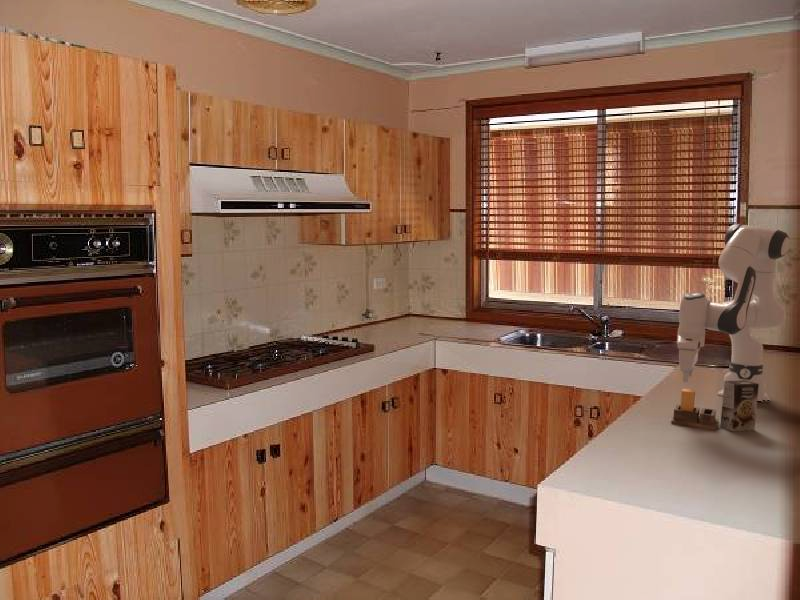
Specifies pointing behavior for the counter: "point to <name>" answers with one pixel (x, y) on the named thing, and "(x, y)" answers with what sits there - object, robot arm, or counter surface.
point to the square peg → (687, 400)
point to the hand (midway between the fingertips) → (687, 379)
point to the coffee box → (739, 405)
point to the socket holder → (695, 418)
